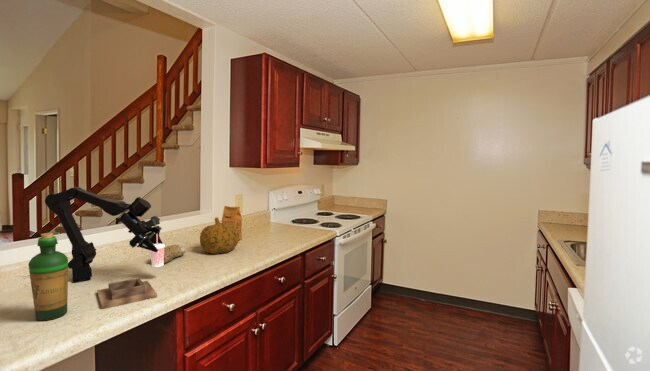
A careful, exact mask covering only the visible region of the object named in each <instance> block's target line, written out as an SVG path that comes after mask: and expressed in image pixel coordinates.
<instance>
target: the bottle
mask: <svg viewBox="0 0 650 371" xmlns="http://www.w3.org/2000/svg"><path fill="white" fill-rule="evenodd" d="M58 244H59V243H58V240H57V236H55V235H54V232H45V233H41V234H40V237H39V238H38V240H37V246H36V247H39V250H40V251H39V253H37V254H35V255H34V256H32V257H31V259H30V260H29V262H28V266H27V267H28V274H29V277H30V278H29V279H30V285H31V291H32V292H31V293H32V300H33V307H34V315H35V320H38V321H51V320H52V321H53V320H54V319H55V320H56V319H58V318H61V317H63V316H65V315H66V313H68V294H69V293H68V290H69V289H68V285H69V284H68V283H69V282H68V280H69V279H68V278H69V268H68V263H69V258H68V256H67V255H66V254H65V253H63V252H61V251H58V250H56V248H57V247H56V246H57V245H58Z"/></svg>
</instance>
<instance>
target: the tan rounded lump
mask: <svg viewBox="0 0 650 371" xmlns="http://www.w3.org/2000/svg"><path fill="white" fill-rule="evenodd" d="M185 253H186V249H185V247H184V246H181V245H179V244H172V245H168V246H165V247H164V264H166V263H168V262H170V261H172V260H173V259H175V258H179V257H182V256H184V255H185Z"/></svg>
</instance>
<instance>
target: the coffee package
mask: <svg viewBox="0 0 650 371" xmlns="http://www.w3.org/2000/svg"><path fill="white" fill-rule="evenodd" d="M240 209H241V207H240V206H227V205H224V208H223V212H222V215H221V216H222V217H221V223H228V224H231V225H233V226H234V227H235V228H236V229H237V231H238V233H239V241H240V240H242V239H243V233H242V232H243V231H242V230H243V228H242V221H243V217H242V213H241V211H240Z"/></svg>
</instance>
